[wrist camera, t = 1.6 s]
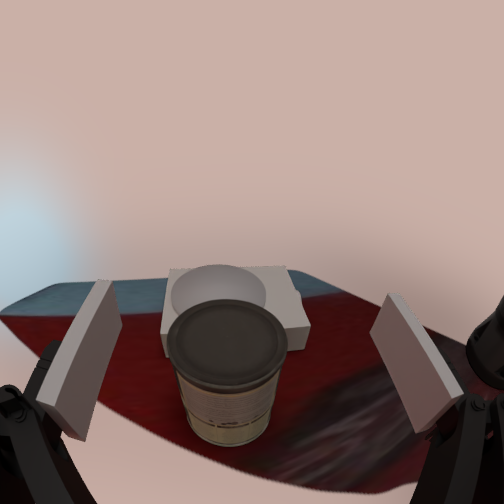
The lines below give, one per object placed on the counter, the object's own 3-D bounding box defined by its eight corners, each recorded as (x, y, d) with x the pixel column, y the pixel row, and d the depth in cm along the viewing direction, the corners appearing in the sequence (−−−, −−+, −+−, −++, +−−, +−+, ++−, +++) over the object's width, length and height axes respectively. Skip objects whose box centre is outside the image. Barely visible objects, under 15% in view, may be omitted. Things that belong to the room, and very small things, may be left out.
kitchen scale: (309, 348, 40) (317, 320, 37) (166, 357, 36) (159, 328, 33) (285, 287, 52) (290, 260, 49) (172, 292, 49) (169, 264, 46)
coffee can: (171, 399, 31) (147, 322, 23) (237, 366, 36) (240, 285, 29) (217, 463, 24) (207, 411, 17) (287, 418, 29) (313, 346, 22)
